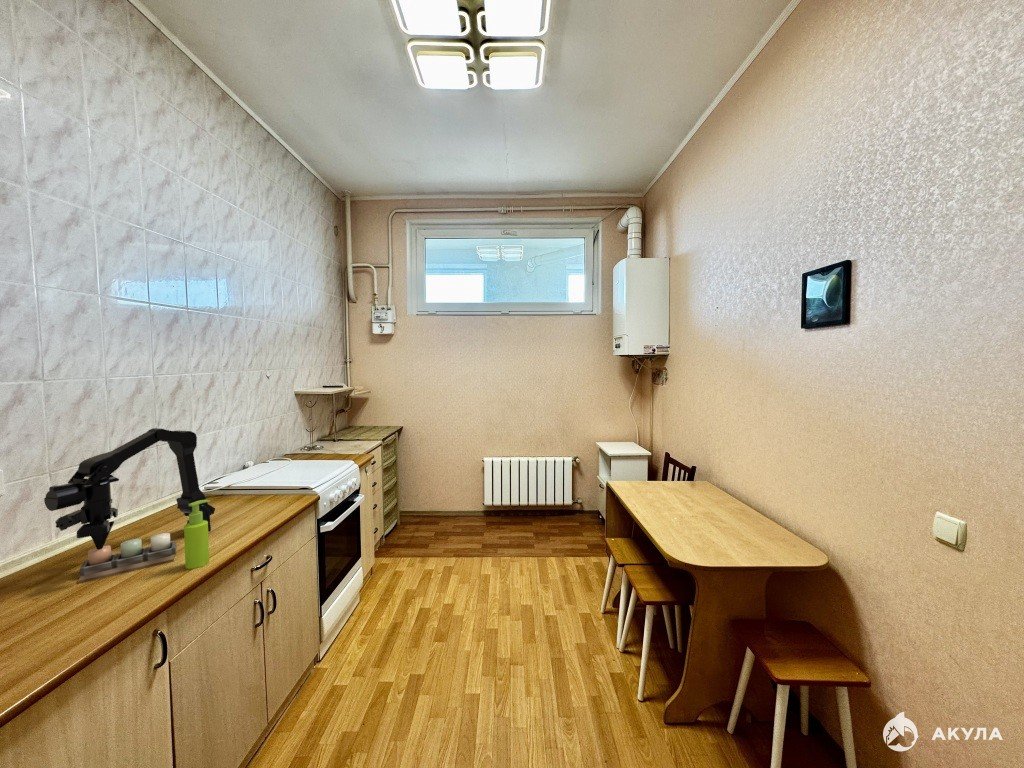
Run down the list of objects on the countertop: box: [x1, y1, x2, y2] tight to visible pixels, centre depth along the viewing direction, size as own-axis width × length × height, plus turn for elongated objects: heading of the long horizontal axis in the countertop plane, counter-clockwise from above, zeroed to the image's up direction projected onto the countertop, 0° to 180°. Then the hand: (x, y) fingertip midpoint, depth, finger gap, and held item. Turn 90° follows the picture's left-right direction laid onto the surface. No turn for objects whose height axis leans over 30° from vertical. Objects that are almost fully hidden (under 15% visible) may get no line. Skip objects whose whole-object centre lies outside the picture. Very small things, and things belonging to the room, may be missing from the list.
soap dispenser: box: [183, 499, 211, 570], centre depth 124 cm, size 6×7×20 cm
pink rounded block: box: [87, 545, 112, 566], centre depth 120 cm, size 5×5×4 cm
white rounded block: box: [150, 532, 171, 551], centre depth 129 cm, size 5×5×4 cm
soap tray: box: [77, 540, 178, 584], centre depth 125 cm, size 22×14×3 cm, turn 128°
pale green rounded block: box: [120, 538, 143, 558], centre depth 125 cm, size 5×5×4 cm
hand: (100, 548), depth 120 cm, fingers closed, pressing on pink rounded block
